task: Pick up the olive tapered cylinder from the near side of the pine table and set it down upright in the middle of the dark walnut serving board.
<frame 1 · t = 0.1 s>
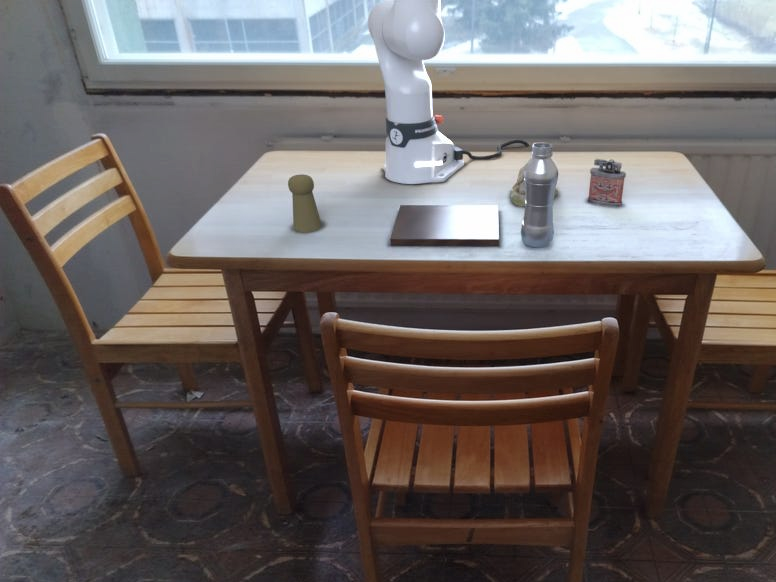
lighter: (604, 203, 151), on the table
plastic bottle: (536, 245, 133), on the table
walnut board: (447, 228, 139), on the table
olive tapered cylinder: (308, 227, 140), on the table
ceramic model: (533, 197, 154), on the table
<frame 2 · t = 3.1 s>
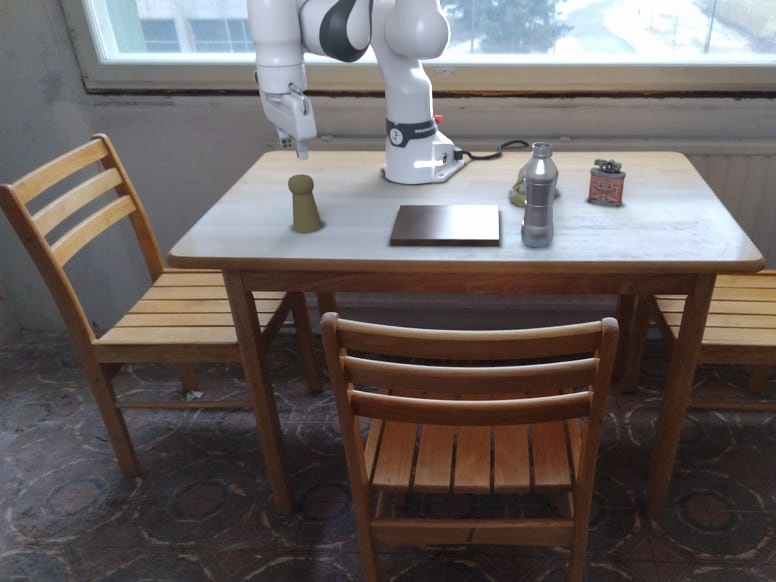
hand: (294, 152, 131), 16 cm above the table, tool pointing down, fingers open, 8 cm apart
nothing on the table moved.
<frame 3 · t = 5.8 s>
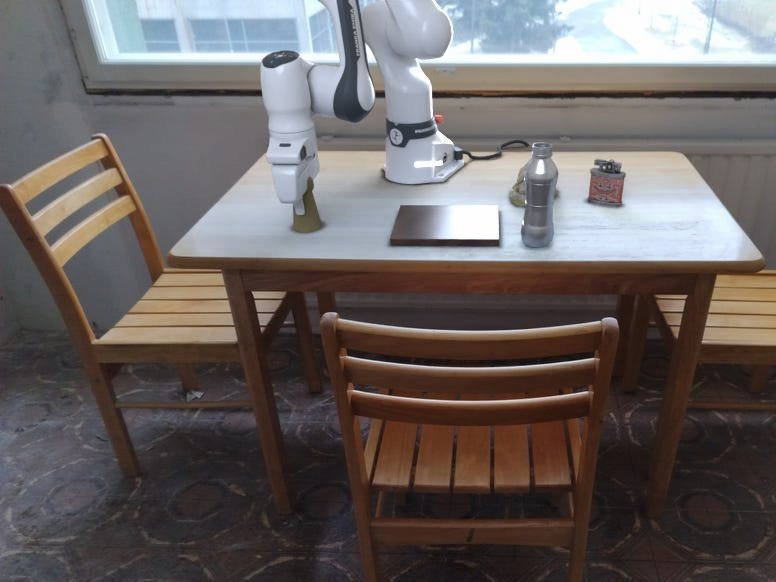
hand: (304, 208, 137), 4 cm above the table, tool pointing down, fingers closed on olive tapered cylinder, 4 cm apart
olive tapered cylinder: (308, 227, 140), on the table, touching gripper
everything else where it was.
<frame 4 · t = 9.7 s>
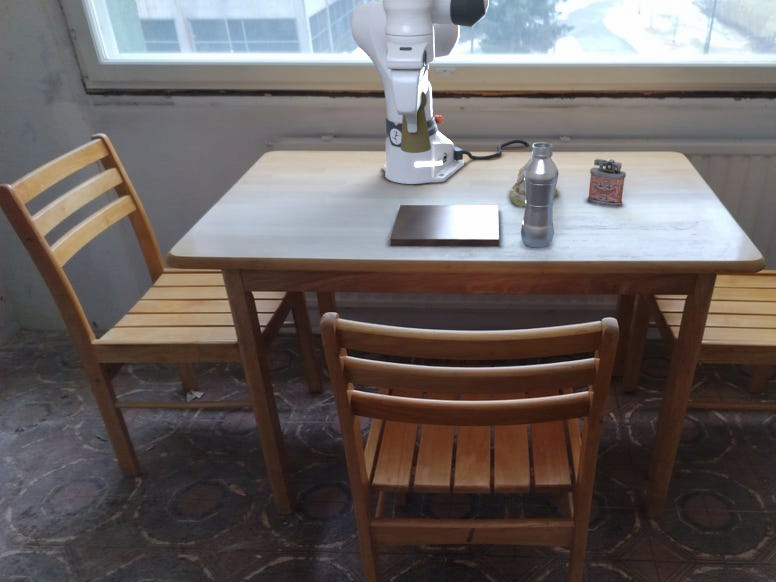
hand: (414, 127, 127), 21 cm above the table, tool pointing down, fingers closed on olive tapered cylinder, 4 cm apart
olive tapered cylinder: (416, 149, 130), point 17 cm above the table, touching gripper
everything else where it was.
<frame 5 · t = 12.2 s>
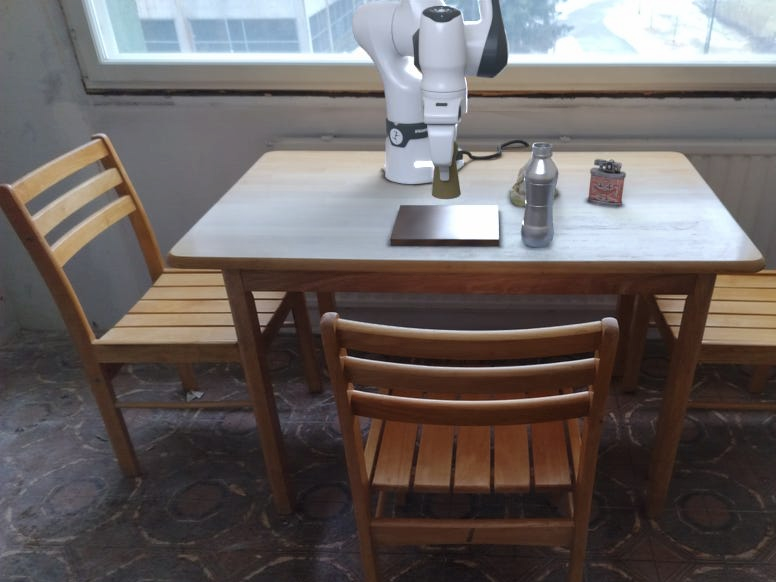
hand: (445, 174, 132), 12 cm above the table, tool pointing down, fingers closed on olive tapered cylinder, 4 cm apart
olive tapered cylinder: (446, 194, 135), point 7 cm above the table, touching gripper
everything else where it was.
when the fingers open (6 cm above the table, at t = 14.0 s): olive tapered cylinder stays where it is, resting on walnut board.
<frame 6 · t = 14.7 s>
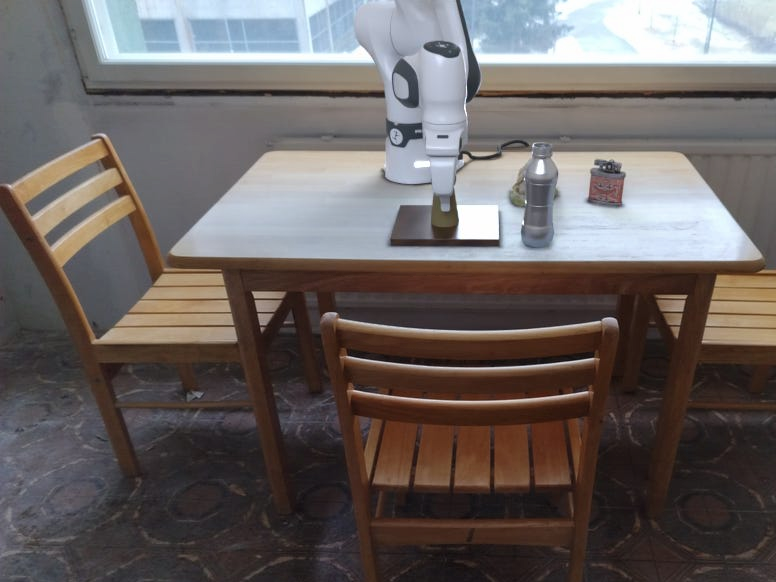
hand: (447, 201, 136), 6 cm above the table, tool pointing down, fingers open, 8 cm apart
olive tapered cylinder: (445, 222, 138), point 1 cm above the table, touching walnut board
everything else where it was.
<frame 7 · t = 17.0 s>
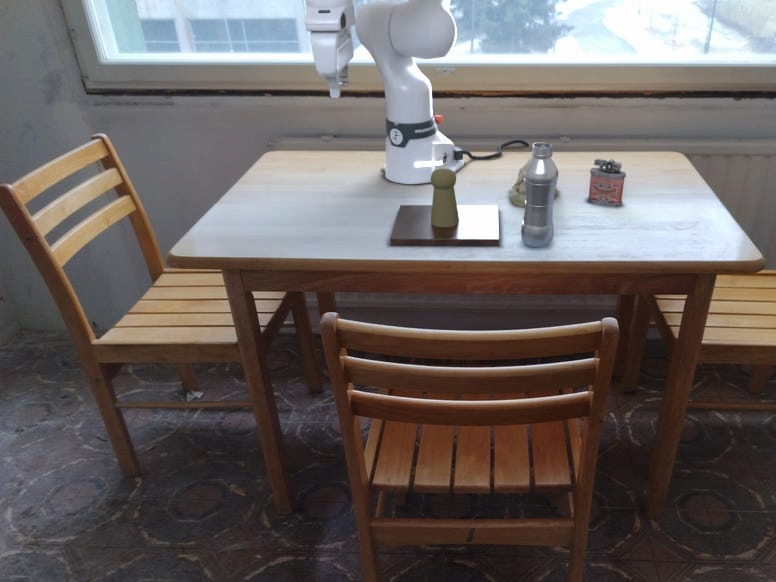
hand: (340, 91, 131), 26 cm above the table, tool pointing down, fingers open, 8 cm apart
nothing on the table moved.
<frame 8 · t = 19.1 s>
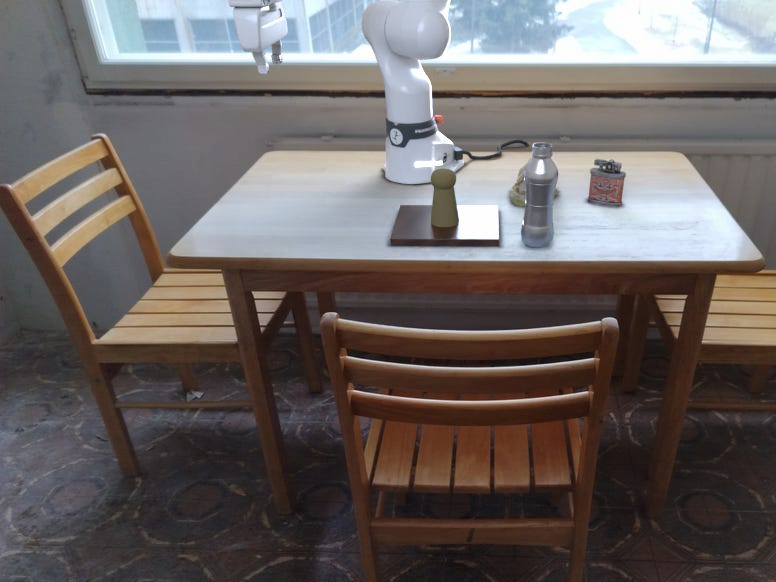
hand: (271, 68, 134), 29 cm above the table, tool pointing down, fingers open, 8 cm apart
nothing on the table moved.
at the end: olive tapered cylinder inside the target area on the walnut board (0.4 cm from its centre), point 1.4 cm above the walnut board's base; olive tapered cylinder tilted 0°; the gripper is holding nothing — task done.
